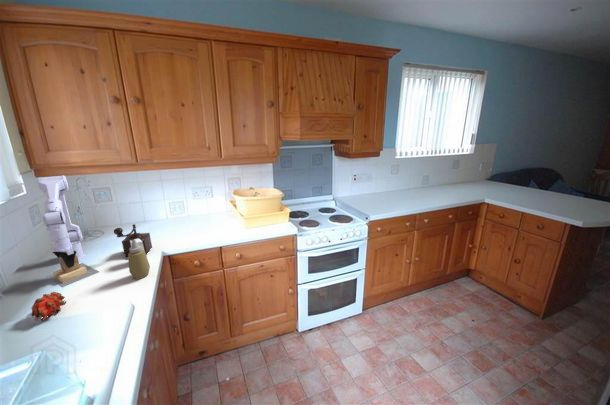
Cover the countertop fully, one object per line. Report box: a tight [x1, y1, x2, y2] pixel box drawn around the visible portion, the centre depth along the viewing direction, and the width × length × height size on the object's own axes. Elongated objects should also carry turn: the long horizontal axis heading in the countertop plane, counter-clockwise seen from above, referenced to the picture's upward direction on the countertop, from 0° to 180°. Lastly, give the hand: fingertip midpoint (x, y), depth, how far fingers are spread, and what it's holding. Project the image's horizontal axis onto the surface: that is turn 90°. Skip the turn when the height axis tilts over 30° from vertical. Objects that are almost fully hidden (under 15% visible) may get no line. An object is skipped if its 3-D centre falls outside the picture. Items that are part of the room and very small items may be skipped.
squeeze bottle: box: [127, 240, 151, 280], centre depth 118 cm, size 8×8×18 cm
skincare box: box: [130, 238, 144, 250], centre depth 131 cm, size 6×4×12 cm
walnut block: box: [58, 255, 80, 272], centre depth 119 cm, size 5×5×6 cm
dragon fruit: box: [31, 291, 67, 321], centre depth 95 cm, size 8×8×12 cm
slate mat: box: [46, 262, 100, 288], centre depth 121 cm, size 18×14×1 cm
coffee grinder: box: [113, 224, 153, 258], centre depth 138 cm, size 16×11×18 cm
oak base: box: [52, 263, 88, 283], centre depth 120 cm, size 9×9×3 cm
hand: (68, 265), depth 118 cm, fingers closed on walnut block, 5 cm apart
